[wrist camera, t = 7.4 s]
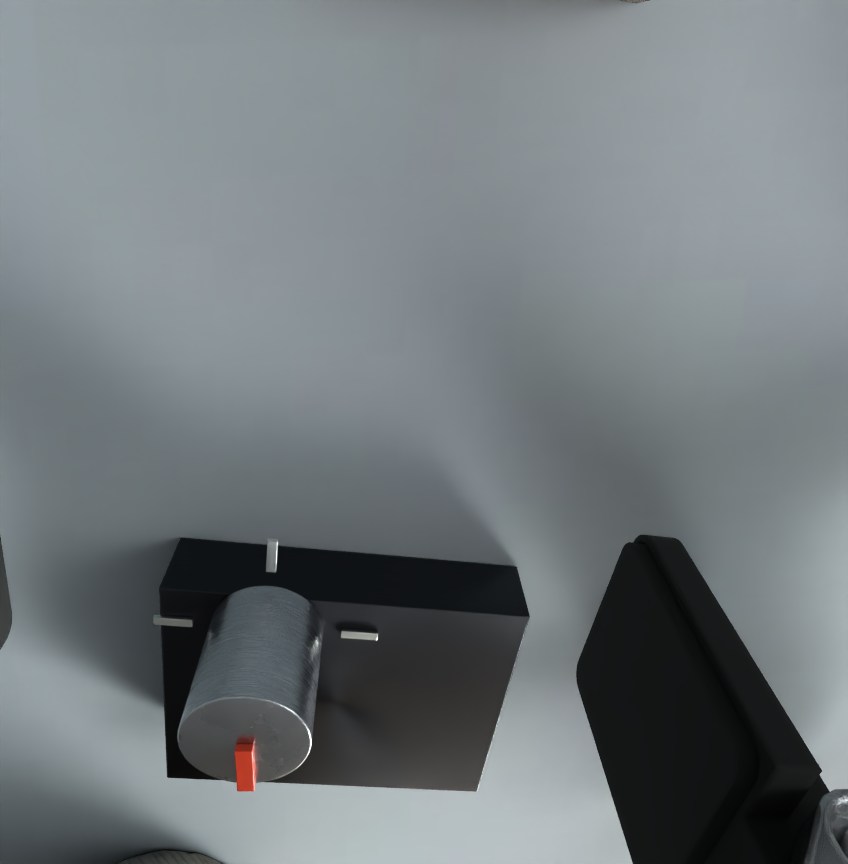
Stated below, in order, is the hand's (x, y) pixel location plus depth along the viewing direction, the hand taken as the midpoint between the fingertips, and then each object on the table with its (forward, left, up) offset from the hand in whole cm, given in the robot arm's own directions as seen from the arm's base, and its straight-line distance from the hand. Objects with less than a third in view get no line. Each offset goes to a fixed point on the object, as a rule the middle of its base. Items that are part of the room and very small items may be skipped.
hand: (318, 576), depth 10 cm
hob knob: (-2, -13, -11) cm, 17 cm away
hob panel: (+1, -15, -14) cm, 21 cm away
